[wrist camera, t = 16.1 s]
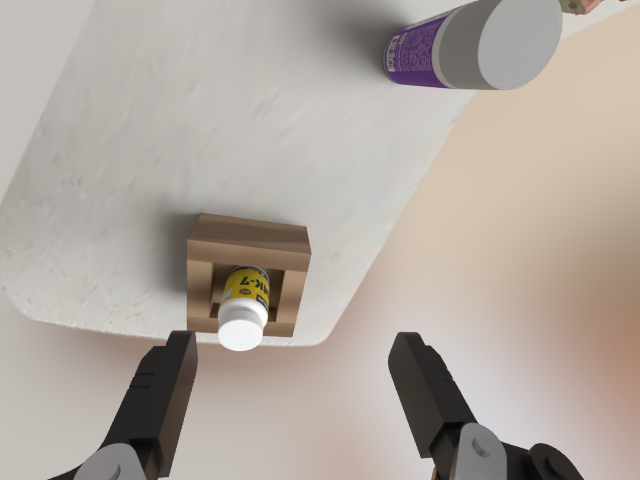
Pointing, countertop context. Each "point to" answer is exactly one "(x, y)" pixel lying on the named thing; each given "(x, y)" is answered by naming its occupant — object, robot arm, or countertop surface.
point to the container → (477, 46)
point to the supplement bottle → (243, 308)
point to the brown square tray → (245, 250)
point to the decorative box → (579, 6)
